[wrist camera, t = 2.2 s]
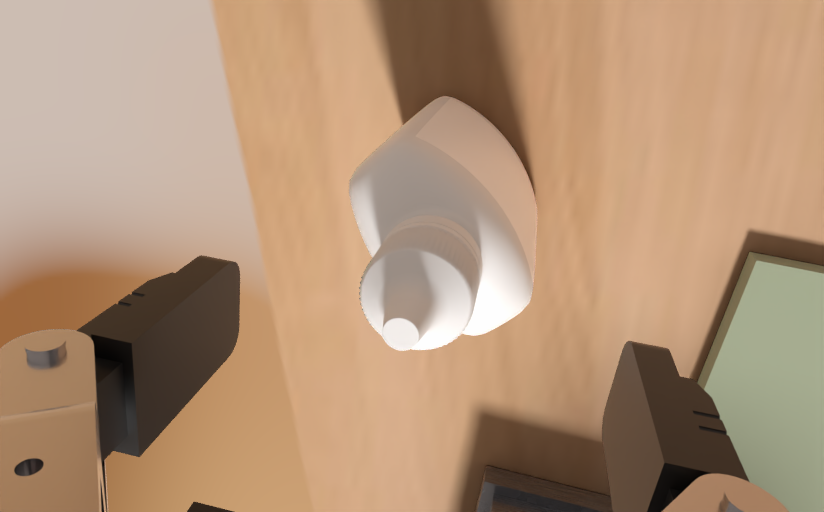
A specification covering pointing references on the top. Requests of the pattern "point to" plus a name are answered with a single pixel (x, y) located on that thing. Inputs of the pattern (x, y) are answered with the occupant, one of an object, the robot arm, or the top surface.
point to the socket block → (534, 495)
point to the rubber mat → (774, 378)
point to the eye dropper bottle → (444, 229)
